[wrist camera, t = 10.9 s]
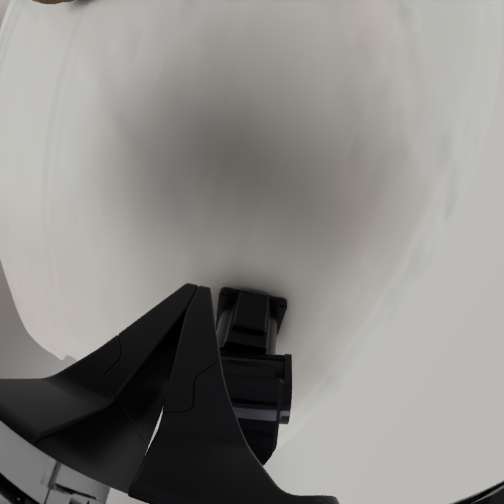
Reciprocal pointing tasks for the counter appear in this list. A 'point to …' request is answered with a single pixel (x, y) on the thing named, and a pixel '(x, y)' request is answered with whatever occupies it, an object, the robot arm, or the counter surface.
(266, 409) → the robot arm
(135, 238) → the counter surface
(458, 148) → the counter surface
